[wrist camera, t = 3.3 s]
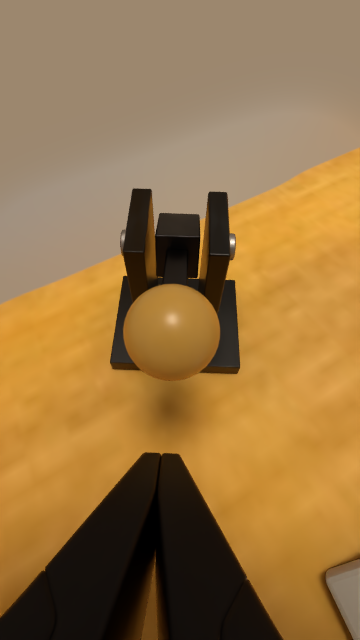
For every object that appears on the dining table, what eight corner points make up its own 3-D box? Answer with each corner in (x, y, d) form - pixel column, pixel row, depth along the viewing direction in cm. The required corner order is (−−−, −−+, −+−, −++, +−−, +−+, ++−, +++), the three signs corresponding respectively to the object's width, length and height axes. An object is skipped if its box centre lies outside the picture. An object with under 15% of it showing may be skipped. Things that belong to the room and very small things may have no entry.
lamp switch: (218, 402, 12) (230, 330, 10) (120, 398, 12) (109, 325, 10) (207, 262, 20) (213, 203, 18) (148, 260, 20) (146, 201, 18)
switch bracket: (237, 373, 24) (278, 284, 14) (112, 368, 24) (71, 277, 14) (232, 288, 27) (263, 173, 18) (125, 284, 27) (99, 168, 18)
